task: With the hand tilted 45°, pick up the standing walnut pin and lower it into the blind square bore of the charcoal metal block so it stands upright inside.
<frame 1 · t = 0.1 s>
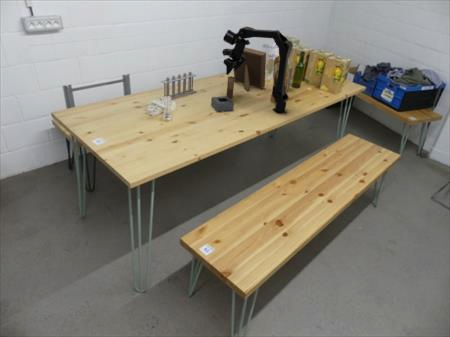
hand: (230, 72, 218), 15 cm above the table, tool pointing down, fingers open, 9 cm apart
photo frame: (245, 86, 245), on the table
bore block: (222, 107, 211), on the table
walnut pin: (229, 97, 225), on the table
test tube rack: (178, 95, 221), on the table
pancake mix bag: (277, 99, 230), on the table
skincare box: (282, 90, 246), on the table
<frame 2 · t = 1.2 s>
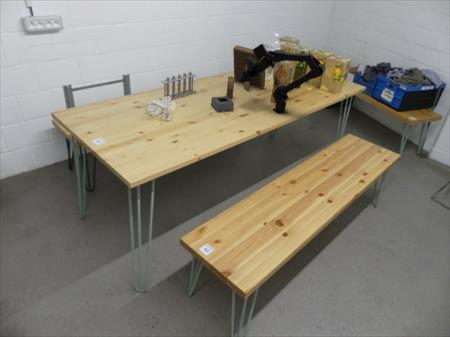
hand: (242, 79, 215), 13 cm above the table, tool tilted 45°, fingers open, 9 cm apart
nothing on the table moved.
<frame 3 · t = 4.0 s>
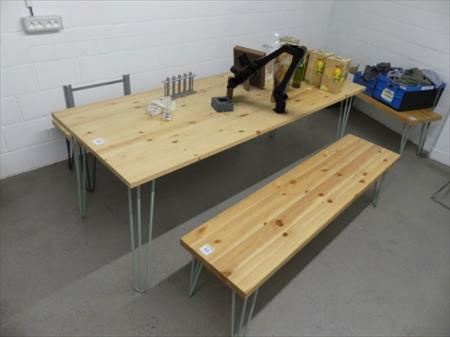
hand: (228, 87, 222), 7 cm above the table, tool tilted 45°, fingers closed on walnut pin, 4 cm apart
walnut pin: (229, 97, 225), on the table, touching gripper
everything else where it was.
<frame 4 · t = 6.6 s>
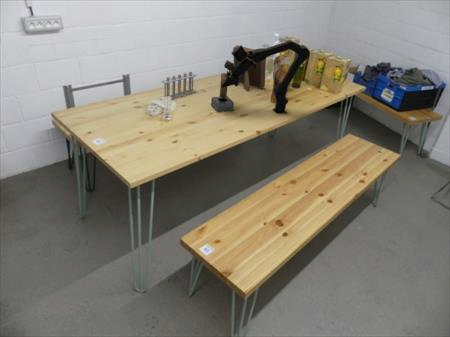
hand: (221, 85, 204), 13 cm above the table, tool tilted 45°, fingers closed on walnut pin, 4 cm apart
walnut pin: (223, 96, 207), point 7 cm above the table, touching gripper
everything else where it was.
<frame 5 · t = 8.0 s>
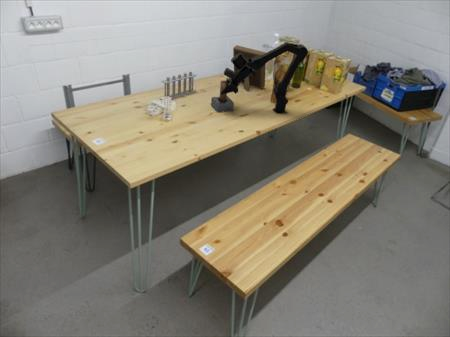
hand: (221, 92, 206), 9 cm above the table, tool tilted 45°, fingers closed on walnut pin, 4 cm apart
walnut pin: (222, 103, 209), point 3 cm above the table, touching gripper
everything else where it was.
when the fingers open (8 cm above the table, at t = 9.2 s): walnut pin drops 1 cm, resting on bore block.
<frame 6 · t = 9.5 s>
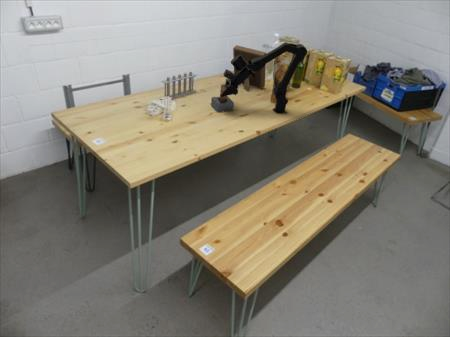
hand: (220, 93, 206), 9 cm above the table, tool tilted 45°, fingers open, 7 cm apart
walnut pin: (222, 107, 210), point 1 cm above the table, touching bore block
everything else where it was.
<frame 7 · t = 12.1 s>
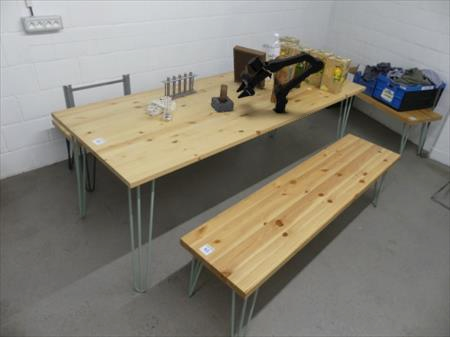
hand: (237, 95, 207), 9 cm above the table, tool tilted 45°, fingers open, 9 cm apart
nothing on the table moved.
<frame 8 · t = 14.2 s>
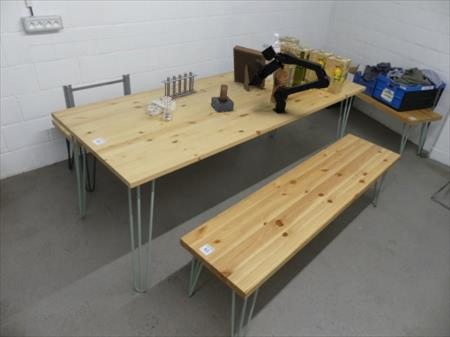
hand: (250, 82, 211), 14 cm above the table, tool tilted 45°, fingers open, 9 cm apart
nothing on the table moved.
at the end: walnut pin 0.0 cm off-centre on the bore block, point 0.5 cm above the bore block's base; walnut pin tilted 1°; the gripper is holding nothing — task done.
